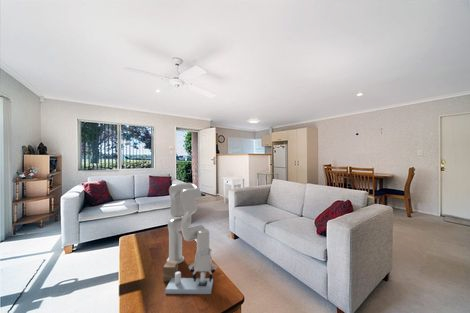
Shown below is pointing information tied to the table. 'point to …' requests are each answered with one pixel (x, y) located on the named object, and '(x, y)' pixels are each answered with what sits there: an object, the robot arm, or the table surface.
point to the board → (188, 285)
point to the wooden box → (170, 270)
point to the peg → (202, 278)
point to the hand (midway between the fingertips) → (202, 280)
